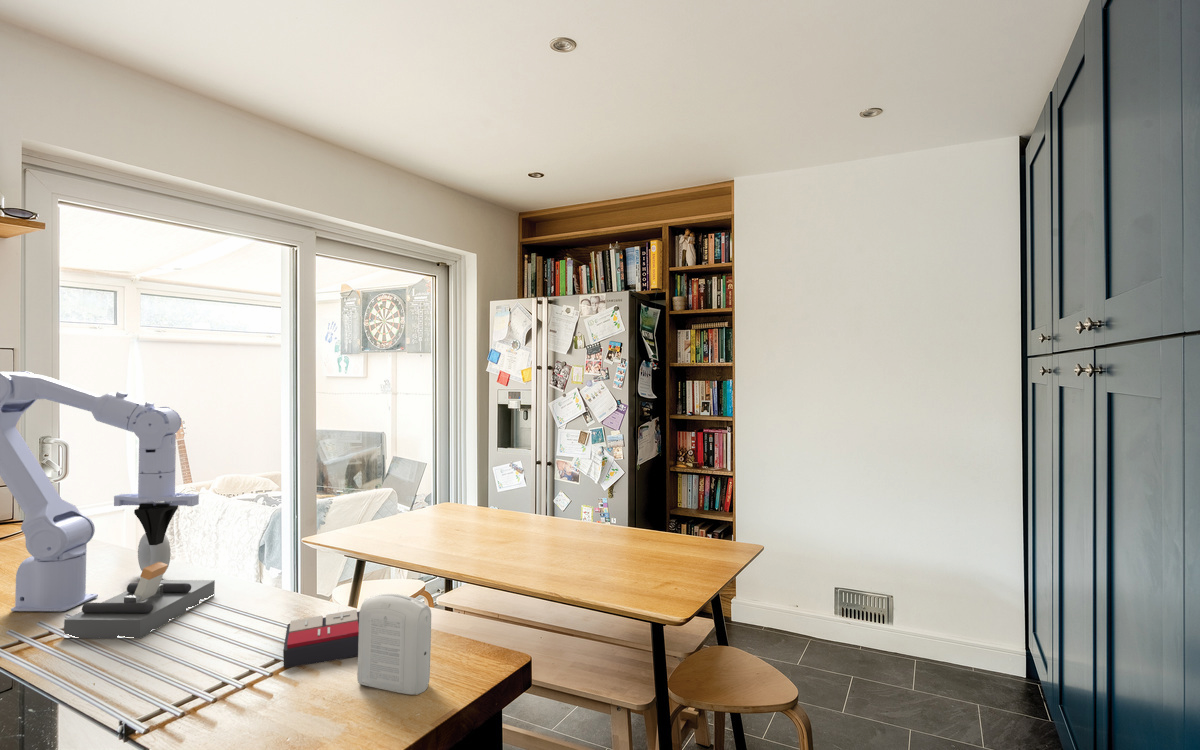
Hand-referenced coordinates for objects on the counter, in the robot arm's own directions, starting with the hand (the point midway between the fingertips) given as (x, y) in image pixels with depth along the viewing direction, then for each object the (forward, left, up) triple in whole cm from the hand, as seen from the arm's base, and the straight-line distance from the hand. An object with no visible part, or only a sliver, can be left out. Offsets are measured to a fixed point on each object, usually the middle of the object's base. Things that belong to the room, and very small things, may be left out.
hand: (156, 543), depth 118 cm
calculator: (+42, -20, -11) cm, 48 cm away
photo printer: (+55, -33, -11) cm, 65 cm away
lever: (+5, -10, -6) cm, 13 cm away
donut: (-9, +13, -11) cm, 19 cm away
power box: (+4, -8, -10) cm, 14 cm away
